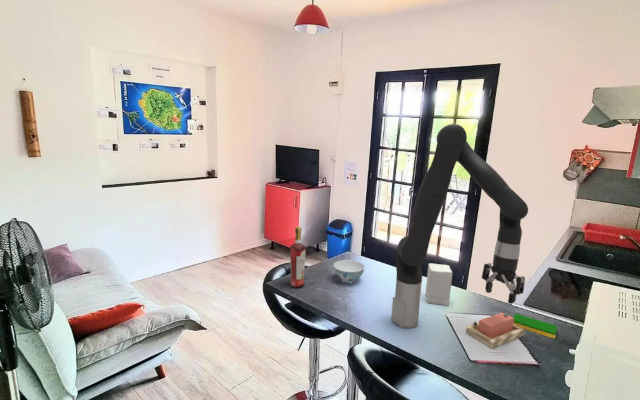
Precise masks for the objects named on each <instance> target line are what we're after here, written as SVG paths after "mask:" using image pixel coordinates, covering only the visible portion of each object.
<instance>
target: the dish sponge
mask: <svg viewBox="0 0 640 400" xmlns="http://www.w3.org/2000/svg"><path fill="white" fill-rule="evenodd" d="M513 318H514V322H513V324H514V325H516V326H518V327H520V328H522V329H524V330H526V331H529V332H531V333H532V332H533V333H536V334H538V335H541V336H544V337H547V338H551V339H556V336H557V330H558V325H555V324H552V323H548V322H546V321H541V320H539V319H535V318H531V317H529V316H525V315H522V314H519V313H514V316H513Z"/></svg>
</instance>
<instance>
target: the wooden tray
mask: <svg viewBox="0 0 640 400" xmlns="http://www.w3.org/2000/svg"><path fill="white" fill-rule="evenodd" d="M478 327H479V322H477V321H473V324H470V325H467V326H466V328H465V329H466V330H465V333H466V334H467V333H468V335H469V336H471V337H472V338H474V339H476V340H477V339H478V340H477V341H479V342H480V341H481V342H480V343H482V344H483V345H485V344H486V345H485V346H487V347H488V346H489V348H490V349H492V348H493V349H495V348H497V346H498V347H499V345H500V346H502V345H501V344H503V345H504V343H505V344H507V343H509V341H510V342H512V341H515V340H517V339H519V338H521V337H524V335H525V329H522V328H520V327H518V326H516V325H514V324H513V329H512V331H510V332H508V333H505V334H502V335H500V336H497V337H494V338H492V339H491V338H489V337H488V336H486V335H484V334H482V333H481V332H479V331H478ZM514 339H515V340H514ZM511 340H512V341H511ZM506 342H507V343H506ZM494 347H495V348H494Z"/></svg>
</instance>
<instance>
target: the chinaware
mask: <svg viewBox="0 0 640 400" xmlns="http://www.w3.org/2000/svg"><path fill="white" fill-rule="evenodd" d="M333 270H334V273H335V274H336V276H337V277H338V279H340V280H341V279H342V280H341V282H342V281H344V282H347V283H346V284H352V283H351V282H354V281H355V282H356V280H359V278H361V277H362V276H363V273H364V271H365V265H364V264H363V263H362V262H359V261H356V260H351V259H343V260H338V261H335V262H334V263H333ZM344 282H343V283H344ZM355 282H354V283H355Z"/></svg>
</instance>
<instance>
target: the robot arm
mask: <svg viewBox="0 0 640 400" xmlns="http://www.w3.org/2000/svg"><path fill="white" fill-rule="evenodd" d="M467 140H468V135H467V131H466V130H465V128H464V127H463V126H461V125H460V124H457V123H451V124H447V125H445V126H443V127H442V128H441V129H440V130H439V131H438V133H437V134H436V147H435V150H434V155H433V159H432V161H431V164H430V165H429V167H428V169H427V172H426V173H425V176H424V178H423V179H422V182H421V184H420V187H419V189H418V192H417V194H416V198H415V202H414V208H413V216H412V217H413V218H412V224H411V228H410V231H409V233H408V235H406V236H404V237H402V238H401V239H400V241H399V242H398V244H397V249H396V267H395V268H396V278H395V279H396V281H395V282H396V283H395V292H394V296H393V297H392V304H391V305H392V306H391V318H390V320H391V322H393V323H395V325H397V326H398V327H400V328H401V329H403V328H404V329H405V328H408V329H411V328H412V329H413V328H416V327H418V324H419V316H420V304H421V296H422V295H421V294H422V282H423V273H422V272H423V271H422V270H423V269H422V264H423V262H425V259H426V257H427V254H428V250H429V246H430V242H431V238H432V234H433V230H434V229H435V226H436V223H437V221H438V218H439V216H440V214H441V210H442V208H443V206H444V202H445V200H446V198H447V194H448V190H449V187H450V183H451V181H452V176H453V172H454V168H455V167H456V163H458V164H460V166H461V167H462V168H464V170H465V171H466V172H467V174H469V176H470V177H471V178H472V179H473V180H474V182H475V183H476V184H477V185H478V186H479V187H480V188H481V190H483V192H484V193H485V194H486V195H487V196H488V197H489V198H491V200H493V202H494V203H496V205H497V207H498V208H499V227H498V231H497V232H498V233H497V237H496V243H495V245H494V246H495V247H494V252H493V258H492V263H491V262H488V263H484V265H483V269H482V273H481V279H482V280H484V281H485V282H486V283H485V289H484V290H485V293H487V294H490V293H492V291H493V287H494V286H493V284H494V283H493V282H494V281H497V282H500V283H502V284H504V285H505V286H506V288H507V289H508V290H509V294H508V298H507V303H508V304H510V305H512V304H514V303H515V302H516V299H517V296H518V295H522V294H524V289H525V282H526V281H525V280H526V278H525V276H524V275H522V276H520V275H517V272H516V271H517V269H518V264H519V258H520V250H521V239H522V235H523V231H522V230H523V229H522V227H521V220H523V219H524V218H526V216H527V215H528V213H529V206H528V204H527V203H526V202H525V200H524V199H523V198H521V196H520V195H519V194H517V193H516V192H515V191H514V190H513V189H512V188H511V187H510V185H508V183H507V182H506V181H505V180H504V178H503V177H502V176H501V175H500V174H499V173H498V172H497V171H496V170H495V169H494V168H493V167H492V166H491V165H490V164H488V163H487V162H486V161H485V160H484V159H483V158H482V157H481V156H480V155H478V153H476V152H475V150H474V149H473V148H472V147H471V146H470V144H469V142H468V141H467ZM491 272H492V274H491V275H490V273H491Z"/></svg>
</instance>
